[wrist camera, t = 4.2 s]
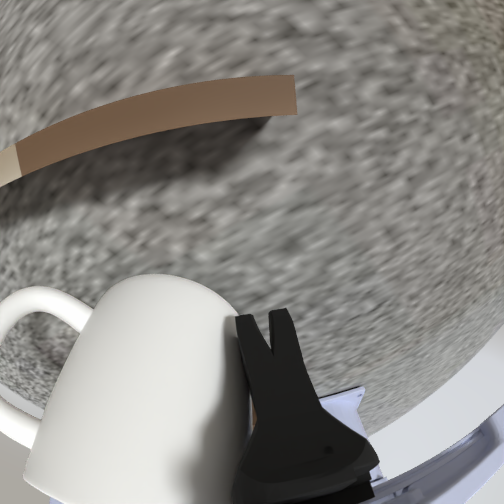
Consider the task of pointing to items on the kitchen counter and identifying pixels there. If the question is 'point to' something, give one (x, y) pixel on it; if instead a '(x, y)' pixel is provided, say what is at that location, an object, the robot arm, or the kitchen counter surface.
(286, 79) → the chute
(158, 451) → the cup
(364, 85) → the kitchen counter surface
